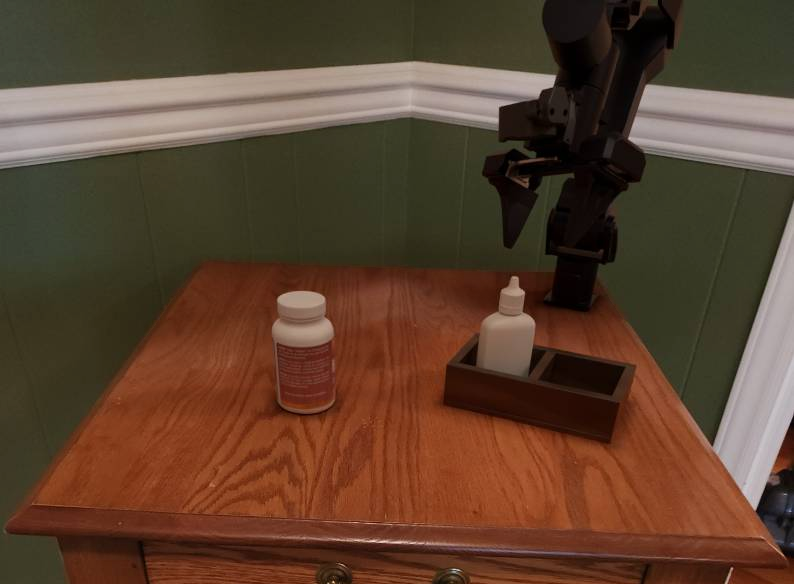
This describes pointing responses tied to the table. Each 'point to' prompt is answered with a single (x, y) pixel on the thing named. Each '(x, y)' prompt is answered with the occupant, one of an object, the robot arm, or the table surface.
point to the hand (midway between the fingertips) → (536, 247)
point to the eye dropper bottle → (507, 335)
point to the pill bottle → (303, 353)
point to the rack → (545, 390)
